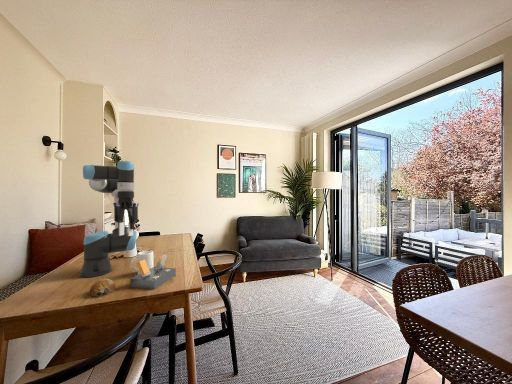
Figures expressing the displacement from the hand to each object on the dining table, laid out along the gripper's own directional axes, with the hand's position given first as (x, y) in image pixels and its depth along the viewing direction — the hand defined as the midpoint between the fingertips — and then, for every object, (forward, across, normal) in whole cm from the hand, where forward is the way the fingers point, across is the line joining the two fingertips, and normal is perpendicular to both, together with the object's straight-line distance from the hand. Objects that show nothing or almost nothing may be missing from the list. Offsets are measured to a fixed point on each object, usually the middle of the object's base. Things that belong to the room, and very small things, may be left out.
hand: (126, 235), depth 117 cm
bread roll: (+25, -2, -12) cm, 28 cm away
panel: (+25, +13, +5) cm, 28 cm away
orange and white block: (+20, +12, 0) cm, 23 cm away
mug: (+25, -1, +13) cm, 28 cm away
